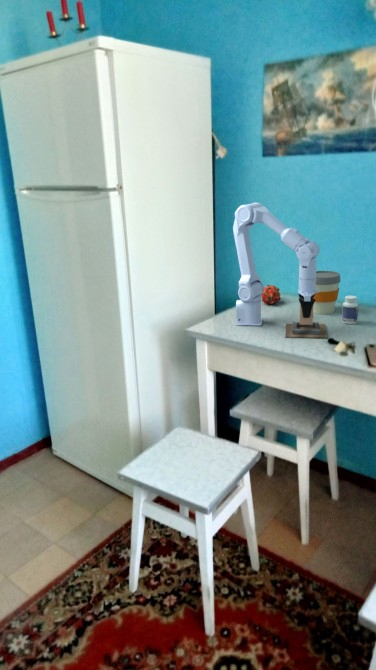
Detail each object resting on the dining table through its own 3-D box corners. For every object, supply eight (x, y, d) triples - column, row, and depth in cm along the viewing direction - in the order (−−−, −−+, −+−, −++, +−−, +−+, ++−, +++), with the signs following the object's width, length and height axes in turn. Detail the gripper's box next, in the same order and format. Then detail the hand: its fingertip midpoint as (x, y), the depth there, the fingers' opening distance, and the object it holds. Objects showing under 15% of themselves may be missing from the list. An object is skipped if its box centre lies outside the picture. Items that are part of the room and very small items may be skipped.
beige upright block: (299, 324, 170) (300, 305, 167) (299, 320, 174) (300, 301, 171) (312, 324, 169) (313, 305, 166) (312, 320, 173) (312, 301, 170)
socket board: (285, 337, 167) (285, 332, 167) (286, 324, 180) (286, 319, 179) (327, 338, 164) (327, 333, 164) (324, 325, 177) (325, 320, 176)
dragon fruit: (272, 302, 214) (271, 314, 204) (256, 292, 213) (255, 303, 202) (283, 288, 210) (284, 299, 200) (267, 277, 209) (267, 288, 198)
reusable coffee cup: (306, 305, 201) (307, 270, 196) (338, 306, 198) (340, 270, 193) (305, 315, 190) (306, 277, 185) (339, 316, 186) (341, 278, 181)
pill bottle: (357, 324, 176) (359, 298, 173) (342, 324, 177) (344, 298, 174) (356, 320, 181) (357, 294, 178) (341, 319, 182) (342, 294, 179)
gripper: (320, 282, 158) (319, 322, 163) (318, 272, 171) (317, 309, 176) (298, 282, 160) (297, 321, 164) (298, 273, 173) (297, 309, 177)
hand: (306, 315), depth 170 cm, fingers closed on beige upright block, 4 cm apart
